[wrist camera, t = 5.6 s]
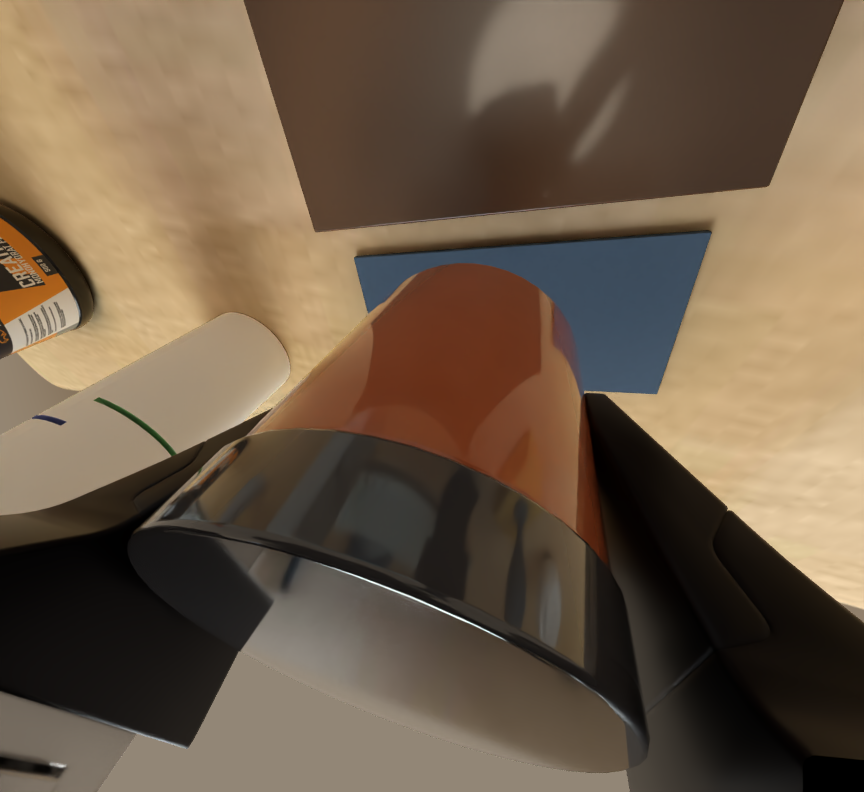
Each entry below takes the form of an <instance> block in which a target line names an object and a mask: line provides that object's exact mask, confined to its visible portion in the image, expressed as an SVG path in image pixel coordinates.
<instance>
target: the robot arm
mask: <svg viewBox="0 0 864 792" xmlns="http://www.w3.org/2000/svg"><path fill="white" fill-rule="evenodd" d="M585 401H586V407H587V414H588V420H589V427H590V433H591V440H592V446H593V453H594V459H595V466H596V472H597V479H598V485H599V492H600V498H601V505H602V511H603V518H604V524H605V531H606V537H607V544H608V550H609V557H610V563H611V570H612V575H613V577H614V578H615V580H616V582H617V583H618V585H619V587H620V588H621V590H622V593H623V596H624V599H625V602H626V606H627V609H628V614H629V620H630V626H631V631H632V637H633V643H634V648H635V654H636V660H637V666H638V671H639V677H640V683H641V688H642V694H643V700H644V705H645V711H646V717H647V723H648V728H649V734H650V743H649V750H648V755H647V758H646V759H645V760H644V761H643V762H642V763H641V764H640V765H639V766H636V767H633V768H630V769H628V770H627V776H628V782H629V788H630V792H864V622H862V621H861V620H860V619H859V618H857V617H856V616H855V615H853V614H852V613H851V612H850V611H848V610H847V609H846V608H845V607H844V606H842V605H841V604H840V603H839V602H837V601H836V600H835V599H834V598H832V597H831V596H830V595H829V594H828V593H826V592H825V591H824V590H823V589H821V588H820V587H819V586H818V585H817V584H815V583H814V582H813V581H812V580H811V579H809V578H808V577H807V576H806V575H804V574H803V573H802V572H801V571H800V570H798V569H797V568H796V567H795V566H794V565H792V564H791V563H790V562H789V561H787V560H786V559H785V558H784V557H783V556H782V555H781V554H780V553H778V552H777V551H776V550H775V549H774V548H773V547H772V546H770V545H769V544H768V543H767V542H766V541H765V540H764V539H762V538H761V537H760V536H759V535H758V534H757V533H756V532H755V531H753V530H752V529H751V528H750V527H749V526H748V525H747V524H746V523H745V522H744V521H742V520H741V519H740V518H739V517H738V516H737V515H736V514H735V513H734V512H733V511H730V510H729V511H727V509H728V508H727V506H726V505H725V504H724V503H723V502H722V501H720V500H719V499H718V498H717V497H716V496H715V495H714V494H713V493H712V492H711V491H710V490H708V489H707V488H706V487H705V486H704V485H703V484H702V483H701V482H700V481H699V480H698V479H696V478H695V477H694V476H693V475H692V474H691V473H690V472H689V471H688V470H687V469H686V468H684V467H683V466H682V465H681V464H680V463H679V462H678V461H677V460H676V459H675V458H674V457H673V456H671V455H670V454H669V453H668V452H667V451H666V450H665V449H664V448H663V447H662V446H661V445H659V444H658V443H657V442H656V441H655V440H654V439H653V438H652V437H651V436H650V435H649V434H647V433H646V432H645V431H644V430H643V429H642V428H641V427H640V426H639V425H638V424H637V423H635V422H634V421H633V420H632V419H631V418H630V417H629V416H628V415H627V414H626V413H625V412H623V411H622V410H621V409H620V408H619V407H618V406H617V405H616V404H615V403H614V402H613V401H612V400H610V399H609V398H608V397H607V396H606V395H604V394H596V393H586V394H585ZM272 409H273V408H272ZM272 409H270V410H268V411H266V412H264V413H262V414H259V415H257V416H255V417H253V418H251V419H249V420H247V421H245V422H243V423H241V424H239V425H237V426H235V427H232V428H230V429H228V430H226V431H224V432H222V433H220V434H218V435H216V436H214V437H212V438H210V439H208V440H207V441H206V442H205V441H203V442H201V443H199V444H197V445H195V446H193V447H191V448H189V449H187V450H184V451H182V452H180V453H178V454H176V455H174V456H172V457H169V458H167V459H165V460H163V461H161V462H158V463H156V464H154V465H152V466H149V467H147V468H145V469H142V470H140V471H138V472H136V473H133V474H131V475H129V476H126V477H124V478H122V479H119V480H117V481H115V482H112V483H110V484H108V485H105V486H103V487H101V488H98V489H96V490H94V491H91V492H89V493H87V494H84V495H82V496H80V497H77V498H75V499H72V500H70V501H67V502H65V503H62V504H59V505H56V506H53V507H49V508H45V509H41V510H37V511H32V512H26V513H19V514H10V515H0V792H97V791H98V790H99V788H100V787H101V785H102V784H103V782H104V781H105V779H106V778H107V777H108V775H109V774H110V772H111V771H112V769H113V768H114V766H115V765H116V763H117V762H118V761H119V759H120V758H121V756H122V755H123V753H124V752H125V750H126V749H127V747H128V746H129V745H130V743H131V741H132V740H133V739H134V737H135V736H136V734H140V735H144V736H147V737H150V738H153V739H157V740H160V741H163V742H166V743H170V744H173V745H176V746H179V747H182V748H186V749H187V748H188V747H189V746H190V744H191V743H192V741H193V740H194V738H195V736H196V734H197V732H198V730H199V728H200V726H201V724H202V722H203V721H204V719H205V717H206V714H207V713H208V711H209V709H210V707H211V705H212V703H213V701H214V699H215V697H216V695H217V693H218V691H219V689H220V687H221V685H222V683H223V681H224V679H225V677H226V675H227V673H228V671H229V670H230V668H231V666H232V664H233V661H234V660H235V658H236V656H237V654H238V652H239V651H238V650H237V649H235V648H233V647H231V646H230V645H228V644H226V643H225V642H223V641H221V640H220V639H218V638H216V637H215V636H213V635H212V634H210V633H208V632H207V631H205V630H204V629H202V628H201V627H199V626H198V625H196V624H195V623H193V622H192V621H190V620H189V619H188V618H186V617H185V616H183V615H182V614H180V613H179V612H178V611H177V610H175V609H174V608H173V607H171V606H170V605H169V604H167V603H166V602H165V601H164V600H163V599H162V598H160V597H159V596H158V595H157V594H156V593H155V592H154V591H153V590H152V589H151V588H150V587H149V586H148V585H147V584H146V583H145V582H144V581H143V580H142V579H141V577H140V576H139V575H138V574H137V572H136V571H135V569H134V568H133V566H132V564H131V562H130V560H129V558H128V556H127V549H126V546H127V544H128V541H129V539H130V537H131V535H132V532H133V531H134V530H135V529H136V528H137V527H138V526H139V525H140V524H141V523H143V522H144V521H145V520H146V519H147V518H148V517H149V516H150V515H151V514H152V513H153V512H154V511H155V510H156V509H157V508H158V507H159V506H160V505H161V504H163V503H164V502H165V501H166V500H167V499H168V498H169V497H170V496H171V495H172V494H173V493H174V492H175V491H176V490H177V489H178V488H179V487H180V486H181V485H183V484H184V483H185V482H186V481H187V480H188V479H189V478H190V477H191V476H192V475H193V474H194V473H195V472H196V471H197V470H198V469H199V468H200V467H201V466H203V465H204V464H205V463H206V462H207V461H208V460H209V459H210V458H211V457H212V456H213V455H214V454H215V453H217V452H218V451H219V450H220V449H222V448H223V447H224V446H225V445H227V444H230V443H232V442H234V441H236V440H238V439H240V438H243V437H244V436H245V435H246V434H247V433H248V432H249V431H250V430H251V429H252V428H253V427H255V426H256V425H257V424H258V423H259V422H260V421H261V420H262V419H263V418H264V417H265V416H266V415H267V414H268V413H269V412H270V411H271V410H272Z"/></svg>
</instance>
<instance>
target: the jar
mask: <svg viewBox="0 0 864 792" xmlns="http://www.w3.org/2000/svg"><path fill="white" fill-rule="evenodd" d="M126 549H127V556H128V558H129V560H130V562H131V564H132V566H133V568H134V569H135V571H136V572H137V574H138V575H139V576H140V577H141V579H142V580H143V581H144V582H145V583H146V584H147V585H148V586H149V587H150V588H151V589H152V590H153V591H154V592H155V593H156V594H157V595H158V596H159V597H160V598H162V599H163V600H164V601H165V602H166V603H167V604H169V605H170V606H171V607H173V608H174V609H175V610H177V611H178V612H179V613H180V614H182V615H183V616H185V617H186V618H188V619H189V620H190V621H192V622H193V623H195V624H196V625H198V626H199V627H201V628H202V629H204V630H205V631H207V632H208V633H210V634H212V635H213V636H215V637H216V638H218V639H220V640H221V641H223V642H225V643H226V644H228V645H230V646H231V647H233V648H235V649H237V650H238V651H240V652H242V653H244V654H245V655H247V656H249V657H251V658H253V659H255V660H257V661H258V662H260V663H262V664H264V665H266V666H268V667H270V668H272V669H274V670H276V671H277V672H279V673H282V674H283V675H285V676H287V677H290V678H291V679H294V680H296V681H298V682H300V683H302V684H304V685H306V686H308V687H310V688H312V689H315V690H317V691H319V692H321V693H323V694H326V695H328V696H330V697H332V698H334V699H337V700H339V701H341V702H344V703H346V704H348V705H351V706H353V707H355V708H358V709H360V710H363V711H365V712H368V713H370V714H372V715H375V716H377V717H380V718H382V719H385V720H388V721H391V722H393V723H396V724H398V725H401V726H403V727H406V728H409V729H412V730H415V731H417V732H420V733H423V734H426V735H429V736H432V737H435V738H438V739H441V740H444V741H447V742H450V743H453V744H456V745H459V746H462V747H466V748H469V749H473V750H476V751H480V752H483V753H487V754H490V755H494V756H498V757H501V758H505V759H509V760H514V761H518V762H522V763H527V764H532V765H537V766H542V767H547V768H553V769H559V770H566V771H576V772H587V773H609V772H616V771H623V770H628V769H630V768H633V767H636V766H639V765H640V764H641V763H642V762H643V761H644V760H645V759H646V758H647V755H648V750H649V743H650V734H649V728H648V723H647V717H646V711H645V705H644V700H643V694H642V688H641V683H640V677H639V671H638V666H637V660H636V654H635V648H634V643H633V637H632V631H631V626H630V620H629V614H628V609H627V606H626V602H625V599H624V596H623V593H622V590H621V588H620V587H619V585H618V583H617V582H616V580H615V578H614V577H613V575H612V570H611V563H610V557H609V550H608V544H607V537H606V531H605V524H604V518H603V511H602V505H601V498H600V492H599V485H598V479H597V472H596V466H595V459H594V453H593V446H592V440H591V433H590V427H589V420H588V414H587V407H586V401H585V394H584V388H583V381H582V375H581V368H580V362H579V355H578V349H577V345H576V341H575V337H574V334H573V332H572V330H571V327H570V325H569V323H568V321H567V319H566V318H565V316H564V315H563V313H562V312H561V310H560V309H559V308H558V306H557V305H556V304H555V303H554V302H553V301H552V300H551V299H550V297H548V296H547V295H546V294H545V293H544V292H543V291H541V290H540V289H539V288H538V287H537V286H535V285H533V284H532V283H530V282H529V281H527V280H526V279H524V278H522V277H520V276H518V275H516V274H513V273H511V272H509V271H506V270H503V269H500V268H496V267H493V266H488V265H482V264H475V263H455V264H447V265H440V266H437V267H433V268H429V269H426V270H424V271H422V272H419V273H417V274H415V275H413V276H411V277H410V278H408V279H406V280H405V281H403V282H402V283H401V284H399V285H398V286H397V287H396V288H395V289H394V290H392V291H391V292H390V293H389V294H388V295H387V296H386V297H385V298H384V299H383V300H382V301H381V302H380V303H379V304H378V305H377V306H376V307H375V308H374V309H373V310H372V311H371V312H370V313H369V314H368V315H367V316H366V317H365V318H364V319H363V320H362V321H361V322H360V323H359V324H358V325H357V326H356V327H355V328H354V329H353V330H352V331H351V332H350V333H349V334H348V335H347V336H346V337H345V338H344V339H343V340H342V341H341V342H340V343H339V344H338V345H337V346H336V347H335V348H334V349H333V350H332V351H331V352H330V353H329V354H327V355H326V356H325V357H324V358H323V359H322V360H321V361H320V362H319V363H318V364H317V365H316V366H315V367H314V368H313V369H312V370H311V371H310V372H309V373H308V374H307V375H306V376H305V377H304V378H303V379H302V380H301V381H300V382H299V383H298V384H297V385H296V386H295V387H294V388H293V389H292V390H291V391H290V392H289V393H288V394H287V395H286V396H285V397H284V398H283V399H282V400H281V401H280V402H279V403H278V404H277V405H276V406H275V407H274V408H273V409H272V410H271V411H270V412H269V413H268V414H267V415H266V416H265V417H264V418H263V419H262V420H261V421H260V422H259V423H258V424H257V425H256V426H255V427H253V428H252V429H251V430H250V431H249V432H248V433H247V434H246V435H245V436H244V437H243V438H240V439H238V440H236V441H234V442H232V443H230V444H227V445H225V446H224V447H223V448H222V449H220V450H219V451H218V452H217V453H215V454H214V455H213V456H212V457H211V458H210V459H209V460H208V461H207V462H206V463H205V464H204V465H203V466H201V467H200V468H199V469H198V470H197V471H196V472H195V473H194V474H193V475H192V476H191V477H190V478H189V479H188V480H187V481H186V482H185V483H184V484H183V485H181V486H180V487H179V488H178V489H177V490H176V491H175V492H174V493H173V494H172V495H171V496H170V497H169V498H168V499H167V500H166V501H165V502H164V503H163V504H161V505H160V506H159V507H158V508H157V509H156V510H155V511H154V512H153V513H152V514H151V515H150V516H149V517H148V518H147V519H146V520H145V521H144V522H143V523H141V524H140V525H139V526H138V527H137V528H136V529H135V530H134V531H133V532H132V535H131V537H130V539H129V541H128V544H127V546H126Z"/></svg>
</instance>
